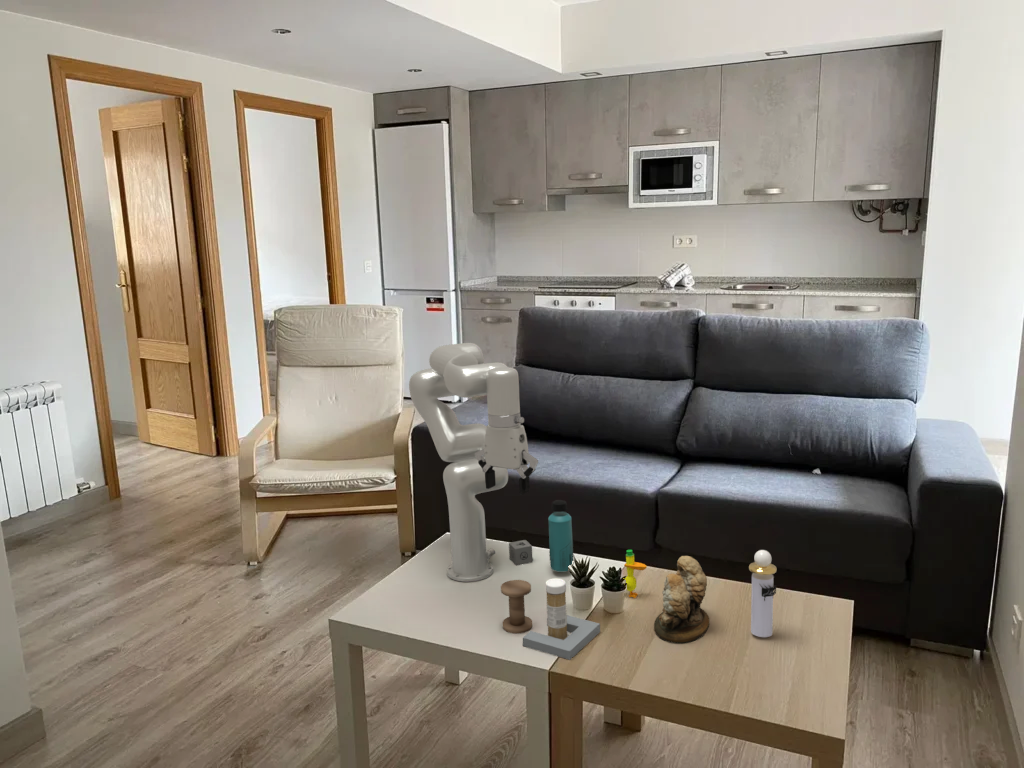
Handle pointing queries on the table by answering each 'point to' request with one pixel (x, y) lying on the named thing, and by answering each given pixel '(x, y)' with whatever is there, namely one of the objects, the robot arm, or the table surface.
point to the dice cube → (520, 552)
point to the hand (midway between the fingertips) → (507, 490)
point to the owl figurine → (683, 604)
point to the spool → (516, 606)
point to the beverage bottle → (560, 537)
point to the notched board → (569, 646)
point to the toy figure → (632, 572)
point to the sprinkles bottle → (556, 608)
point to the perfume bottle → (762, 594)
